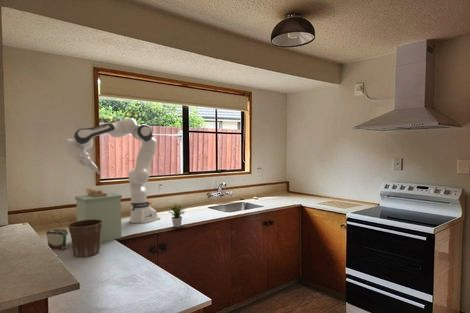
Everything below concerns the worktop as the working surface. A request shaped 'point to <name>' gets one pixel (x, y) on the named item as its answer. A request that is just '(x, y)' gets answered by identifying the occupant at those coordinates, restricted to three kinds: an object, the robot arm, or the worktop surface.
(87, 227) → the plant pot
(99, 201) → the toolbox
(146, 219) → the robot arm
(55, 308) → the worktop surface
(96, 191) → the tan bar
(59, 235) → the food container
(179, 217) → the house plant
